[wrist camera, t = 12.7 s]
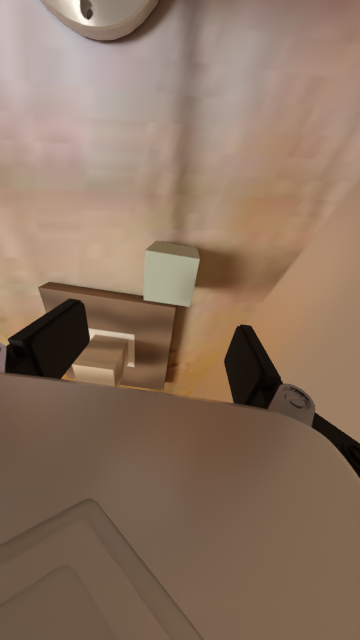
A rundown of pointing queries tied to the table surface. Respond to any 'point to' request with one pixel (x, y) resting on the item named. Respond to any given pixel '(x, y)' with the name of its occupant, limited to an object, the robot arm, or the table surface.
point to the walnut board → (124, 328)
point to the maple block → (102, 361)
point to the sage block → (170, 273)
